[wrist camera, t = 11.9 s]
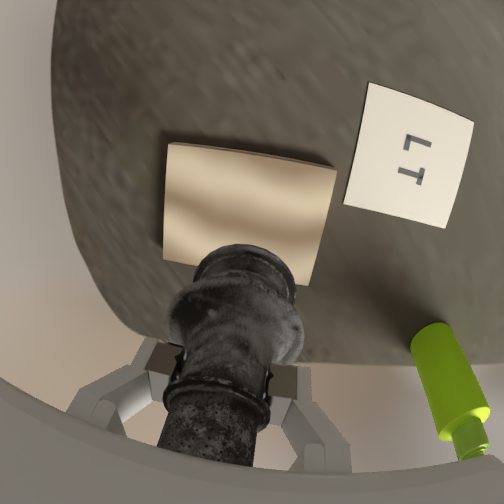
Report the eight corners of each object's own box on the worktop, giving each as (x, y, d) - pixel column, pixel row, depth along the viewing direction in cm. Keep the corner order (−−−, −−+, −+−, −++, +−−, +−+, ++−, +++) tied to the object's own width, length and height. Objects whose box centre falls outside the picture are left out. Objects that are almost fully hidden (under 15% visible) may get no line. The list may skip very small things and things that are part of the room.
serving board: (174, 141, 25) (168, 144, 24) (334, 167, 25) (337, 170, 24) (168, 252, 30) (163, 259, 29) (307, 277, 30) (308, 285, 29)
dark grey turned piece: (288, 342, 17) (275, 558, 6) (186, 323, 17) (107, 522, 6) (314, 250, 14) (340, 534, 4) (190, 227, 14) (40, 464, 4)
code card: (368, 82, 21) (369, 82, 21) (473, 122, 21) (474, 122, 21) (343, 203, 26) (343, 204, 26) (444, 228, 26) (445, 228, 26)
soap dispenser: (407, 367, 35) (443, 504, 17) (411, 328, 32) (463, 482, 14) (447, 356, 33) (493, 483, 16) (454, 317, 30) (520, 456, 13)
